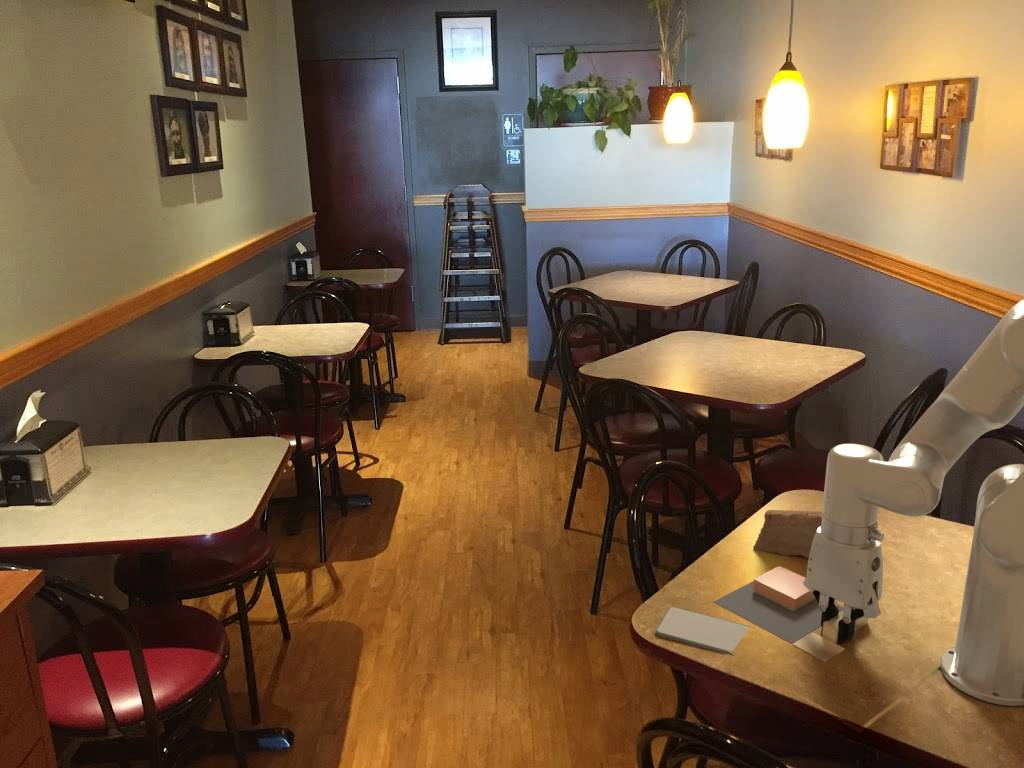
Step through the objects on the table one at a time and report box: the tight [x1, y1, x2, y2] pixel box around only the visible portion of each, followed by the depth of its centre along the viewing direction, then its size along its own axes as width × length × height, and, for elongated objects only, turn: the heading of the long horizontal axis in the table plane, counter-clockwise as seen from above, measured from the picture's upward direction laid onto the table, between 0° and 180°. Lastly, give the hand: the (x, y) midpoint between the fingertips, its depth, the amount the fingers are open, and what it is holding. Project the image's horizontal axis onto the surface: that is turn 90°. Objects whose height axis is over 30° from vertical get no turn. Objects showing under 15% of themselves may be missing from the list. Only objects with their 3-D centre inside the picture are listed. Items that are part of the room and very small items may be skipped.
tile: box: [753, 565, 816, 612], centre depth 139 cm, size 2×7×8 cm
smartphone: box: [655, 606, 758, 657], centre depth 130 cm, size 8×1×15 cm
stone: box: [752, 509, 822, 559], centre depth 151 cm, size 19×10×4 cm
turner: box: [792, 611, 869, 663], centre depth 128 cm, size 14×6×3 cm, turn 127°
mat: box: [713, 580, 844, 645], centre depth 137 cm, size 15×15×1 cm
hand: (836, 636), depth 128 cm, fingers closed on turner, 2 cm apart
